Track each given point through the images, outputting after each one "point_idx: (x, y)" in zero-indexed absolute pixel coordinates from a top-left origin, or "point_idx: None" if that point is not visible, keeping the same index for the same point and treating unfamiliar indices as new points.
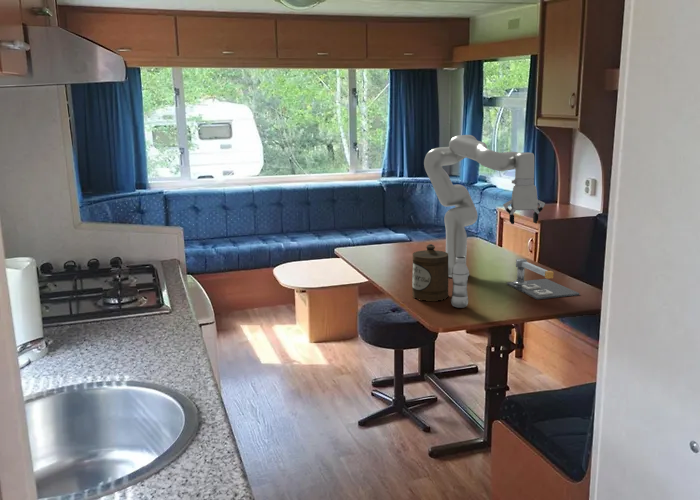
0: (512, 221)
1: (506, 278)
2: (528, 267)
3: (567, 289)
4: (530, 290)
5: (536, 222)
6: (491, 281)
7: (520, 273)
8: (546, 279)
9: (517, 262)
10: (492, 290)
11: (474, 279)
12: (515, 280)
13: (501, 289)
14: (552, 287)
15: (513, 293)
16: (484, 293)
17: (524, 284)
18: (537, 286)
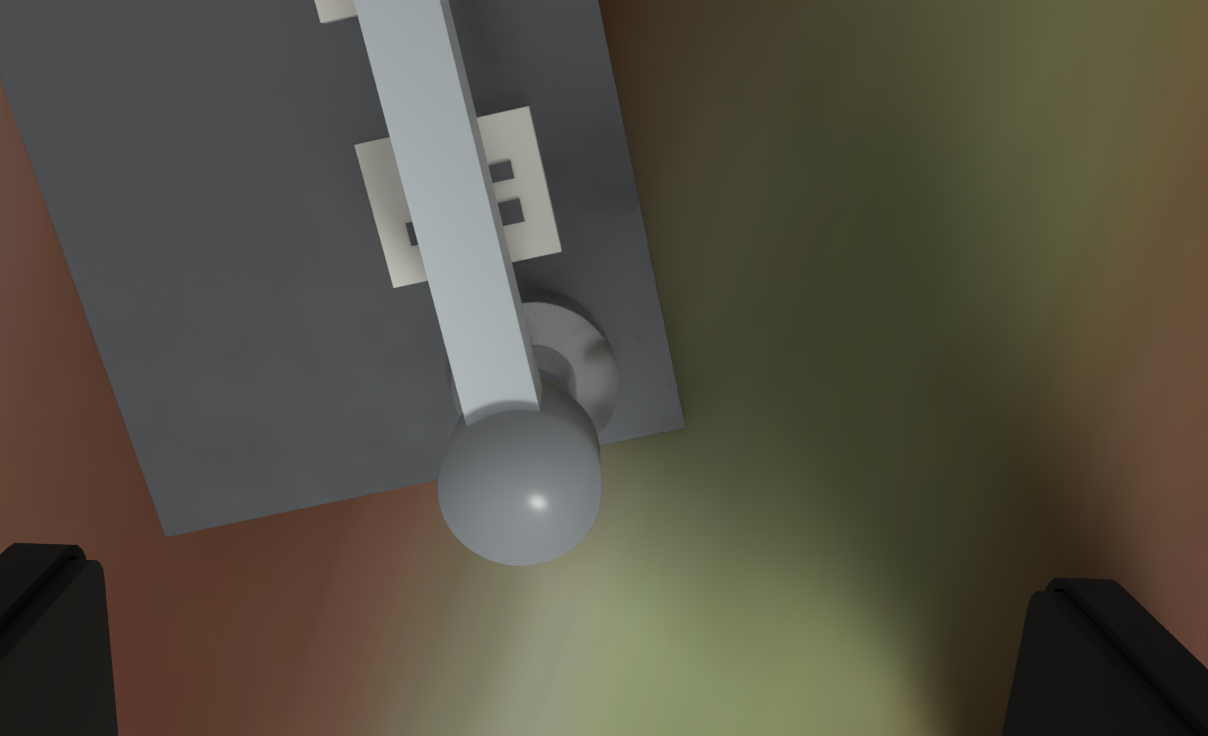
0: (1161, 646)
1: (601, 647)
2: (495, 207)
3: (33, 48)
4: (514, 57)
5: (35, 551)
6: (809, 550)
7: (547, 381)
8: (173, 504)
9: (594, 448)
10: (934, 193)
11: (966, 643)
12: None
13: (815, 222)
14: (198, 160)
15: (734, 36)
16: (1075, 78)
17: None
18: (388, 165)
